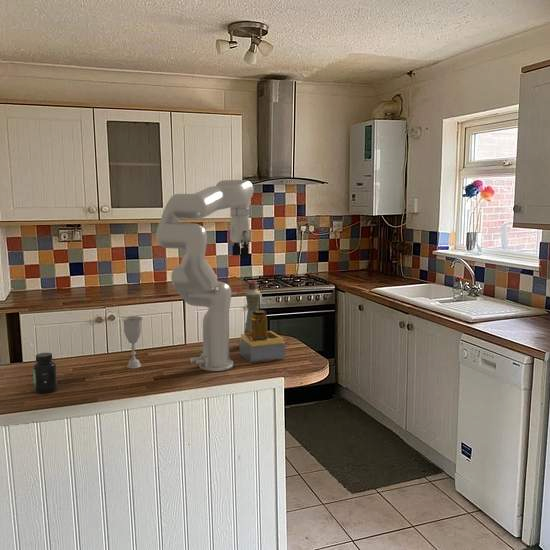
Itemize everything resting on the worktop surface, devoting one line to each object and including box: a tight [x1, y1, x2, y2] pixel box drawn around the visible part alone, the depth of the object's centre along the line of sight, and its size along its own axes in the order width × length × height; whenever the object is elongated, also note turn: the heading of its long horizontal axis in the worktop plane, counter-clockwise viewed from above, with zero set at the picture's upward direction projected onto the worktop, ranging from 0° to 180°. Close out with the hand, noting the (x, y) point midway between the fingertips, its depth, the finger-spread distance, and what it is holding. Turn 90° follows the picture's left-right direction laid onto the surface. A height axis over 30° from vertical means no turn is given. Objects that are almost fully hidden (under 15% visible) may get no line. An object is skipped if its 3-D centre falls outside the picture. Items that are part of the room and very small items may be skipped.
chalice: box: [121, 315, 143, 369], centre depth 197 cm, size 7×7×18 cm
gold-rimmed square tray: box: [238, 330, 287, 364], centre depth 210 cm, size 16×13×8 cm
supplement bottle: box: [32, 352, 58, 395], centre depth 173 cm, size 7×7×12 cm
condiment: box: [251, 309, 272, 341], centre depth 208 cm, size 7×8×12 cm
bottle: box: [243, 279, 261, 334], centre depth 222 cm, size 9×9×28 cm
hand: (240, 256), depth 212 cm, fingers open, 9 cm apart
